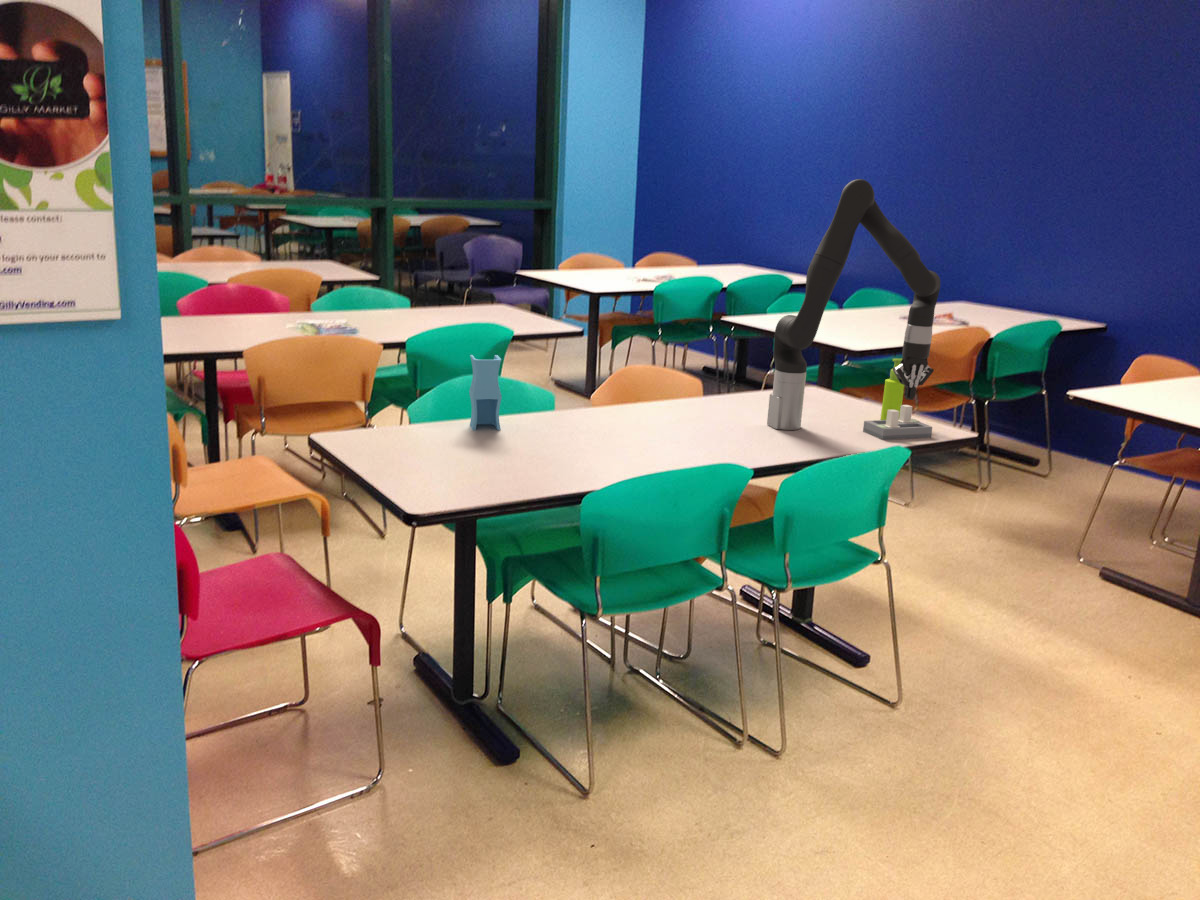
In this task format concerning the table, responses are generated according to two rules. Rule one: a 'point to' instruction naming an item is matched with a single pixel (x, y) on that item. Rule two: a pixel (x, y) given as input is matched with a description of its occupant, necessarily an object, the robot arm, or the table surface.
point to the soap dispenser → (892, 393)
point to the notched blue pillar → (485, 392)
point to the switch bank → (897, 430)
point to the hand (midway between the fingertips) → (909, 399)
